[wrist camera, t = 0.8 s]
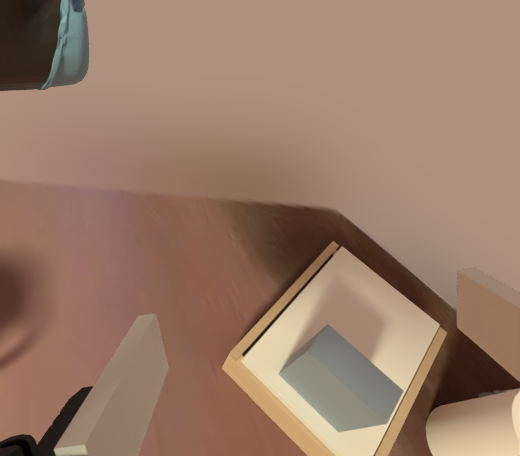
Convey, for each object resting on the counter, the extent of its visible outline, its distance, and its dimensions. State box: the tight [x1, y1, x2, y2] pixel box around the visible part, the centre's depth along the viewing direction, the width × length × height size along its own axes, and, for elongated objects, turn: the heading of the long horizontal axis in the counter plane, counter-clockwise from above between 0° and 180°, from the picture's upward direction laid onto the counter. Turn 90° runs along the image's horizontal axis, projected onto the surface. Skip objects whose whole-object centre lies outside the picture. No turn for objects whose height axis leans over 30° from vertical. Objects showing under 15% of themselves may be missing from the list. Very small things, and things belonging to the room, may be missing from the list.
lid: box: [241, 246, 440, 456], centre depth 28 cm, size 16×12×8 cm
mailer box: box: [222, 241, 447, 456], centre depth 33 cm, size 16×14×6 cm
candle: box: [426, 389, 520, 456], centre depth 27 cm, size 6×6×15 cm
